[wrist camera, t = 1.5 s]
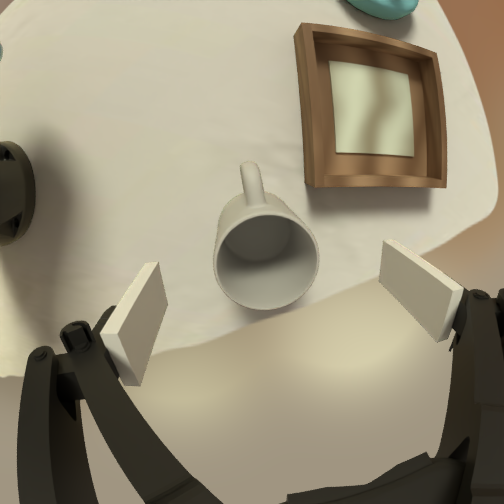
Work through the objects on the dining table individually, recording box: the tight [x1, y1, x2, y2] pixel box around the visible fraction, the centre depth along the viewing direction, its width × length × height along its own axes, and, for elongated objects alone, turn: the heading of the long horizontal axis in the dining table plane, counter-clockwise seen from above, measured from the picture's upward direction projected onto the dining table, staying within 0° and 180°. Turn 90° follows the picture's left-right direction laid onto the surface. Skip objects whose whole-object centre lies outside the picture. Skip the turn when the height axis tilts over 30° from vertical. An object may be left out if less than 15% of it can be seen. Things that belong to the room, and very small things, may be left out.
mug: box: [213, 161, 319, 310], centre depth 26 cm, size 12×8×11 cm
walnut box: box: [294, 23, 447, 188], centre depth 25 cm, size 18×18×4 cm
